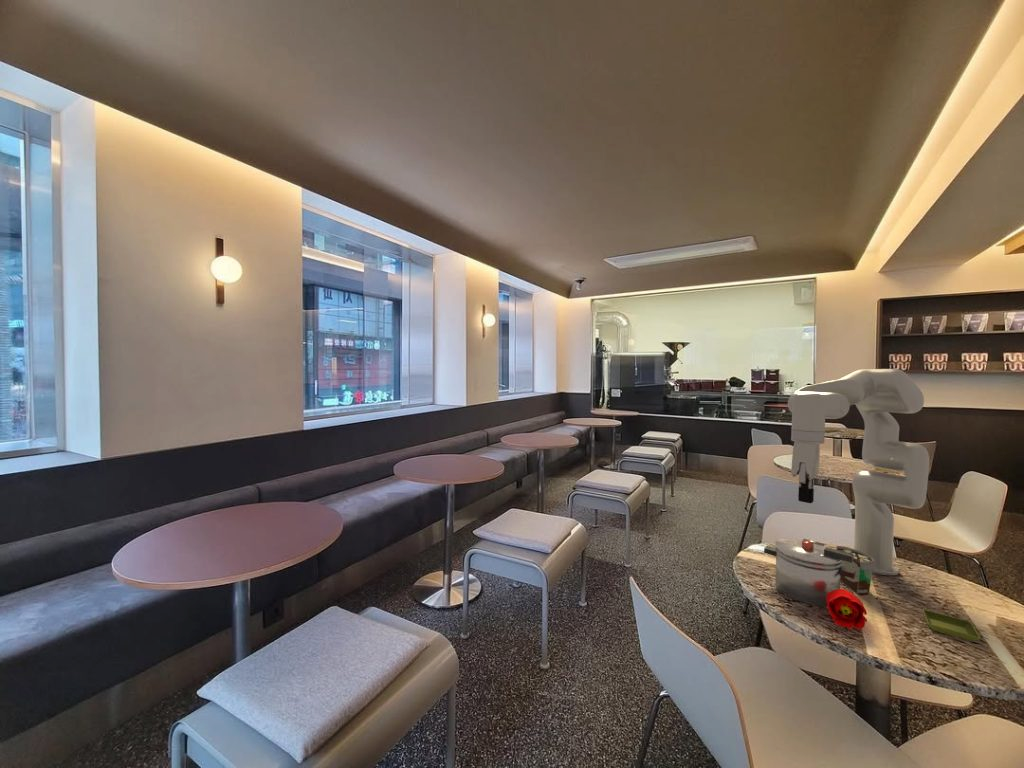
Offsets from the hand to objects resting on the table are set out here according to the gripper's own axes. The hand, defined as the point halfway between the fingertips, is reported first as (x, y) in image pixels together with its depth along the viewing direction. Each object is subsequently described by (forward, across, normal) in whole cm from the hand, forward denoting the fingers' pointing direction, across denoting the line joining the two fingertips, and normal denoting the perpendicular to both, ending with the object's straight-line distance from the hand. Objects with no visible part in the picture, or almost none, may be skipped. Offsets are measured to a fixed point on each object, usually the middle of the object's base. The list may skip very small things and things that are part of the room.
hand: (805, 501), depth 113 cm
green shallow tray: (+28, -10, +28) cm, 41 cm away
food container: (+27, -19, +10) cm, 35 cm away
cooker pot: (+27, -4, 0) cm, 27 cm away
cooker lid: (+16, -4, +1) cm, 16 cm away
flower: (+27, +6, +10) cm, 30 cm away
